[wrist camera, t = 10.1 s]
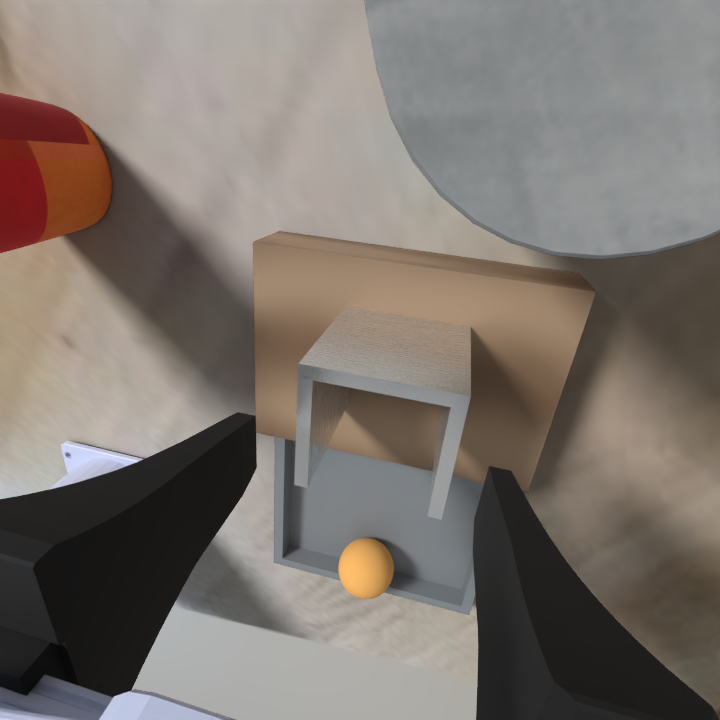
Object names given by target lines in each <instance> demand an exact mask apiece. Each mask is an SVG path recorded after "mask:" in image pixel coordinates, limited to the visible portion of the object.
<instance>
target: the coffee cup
mask: <svg viewBox="0 0 720 720" xmlns="http://www.w3.org/2000/svg"><path fill="white" fill-rule="evenodd" d="M111 197H112V175H111V170H110V166H109V163H108V160H107V157H106V155H105V152H104V150H103V148H102V146H101V144H100V143H99V141H98V139H97V138H96V136H95V135H94V134H93V132H92V131H91V130H90V129H89V127H88V126H87V125H86V124H85V123H84V122H83V121H82V120H80V119H79V118H78V117H77V116H75V115H74V114H72V113H71V112H69V111H67V110H65V109H63V108H60V107H58V106H55V105H51V104H47V103H43V102H39V101H35V100H31V99H26V98H21V97H17V96H12V95H7V94H3V93H0V253H3V252H7V251H10V250H14V249H17V248H21V247H24V246H28V245H31V244H35V243H38V242H42V241H45V240H49V239H52V238H56V237H59V236H62V235H66V234H69V233H72V232H75V231H79V230H81V229H84V228H87V227H89V226H91V225H93V224H95V223H97V222H98V221H99V220H100V219H101V218H102V217H103V216H104V215H105V213H106V211H107V210H108V207H109V205H110V202H111Z"/></svg>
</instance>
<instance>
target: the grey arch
mask: <svg viewBox="0 0 720 720" xmlns="http://www.w3.org/2000/svg"><path fill="white" fill-rule="evenodd" d="M349 387H350V388H355V389H360V390H365V391H370V392H375V393H380V394H385V395H391V396H396V397H401V398H406V399H411V400H416V401H421V402H426V403H432V404H437V405H442V408H441V413H440V418H439V423H438V430H437V439H436V447H435V455H434V464H433V472H432V481H431V489H430V497H429V506H428V514H427V516H428V517H432V518H436V519H441V520H442V516H443V512H444V507H445V503H446V499H447V495H448V491H449V486H450V482H451V478H452V474H453V469H454V465H455V461H456V457H457V453H458V448H459V444H460V440H461V436H462V431H463V427H464V423H465V419H466V415H467V410H468V406H469V402H470V398H471V326H465V325H459V324H453V323H446V322H440V321H434V320H428V319H422V318H416V317H410V316H404V315H398V314H392V313H386V312H380V311H374V310H368V309H362V308H356V307H349V306H345V307H344V309H343V310H342V311H341V312H340V314H339V315H338V316H337V317H336V318H335V320H334V321H333V322H332V323H331V324H330V326H329V327H328V328H327V329H326V331H325V332H324V333H323V334H322V335H321V337H320V338H319V339H318V340H317V342H316V343H315V344H314V345H313V346H312V348H311V349H310V350H309V351H308V352H307V354H306V355H305V356H304V357H303V359H302V360H301V361H300V362H299V363H298V390H297V419H296V448H295V477H294V485H297V486H301V487H305V488H307V487H308V485H309V483H310V481H311V479H312V477H313V475H314V473H315V471H316V469H317V467H318V465H319V463H320V461H321V459H322V457H323V455H324V453H325V451H326V449H327V446H328V444H329V442H330V440H331V438H332V436H333V434H334V432H335V430H336V428H337V426H338V424H339V422H340V420H341V418H342V416H343V414H344V412H345V410H346V408H347V406H348V397H349Z"/></svg>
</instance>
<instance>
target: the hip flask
mask: <svg viewBox="0 0 720 720" xmlns="http://www.w3.org/2000/svg"><path fill="white" fill-rule="evenodd" d="M364 4H365V9H366V15H367V20H368V26H369V31H370V37H371V42H372V48H373V54H374V59H375V65H376V69H377V73H378V76H379V80H380V83H381V87H382V90H383V93H384V97H385V100H386V104H387V107H388V110H389V114H390V117H391V120H392V122H393V124H394V126H395V127H396V129H397V131H398V133H399V135H400V137H401V139H402V141H403V143H404V145H405V147H406V149H407V151H408V153H409V155H410V157H411V159H412V161H413V162H414V163H415V165H416V166H417V167H418V168H419V170H420V171H421V172H422V174H423V175H424V176H425V177H426V179H427V180H428V181H429V182H430V184H431V185H432V186H433V188H434V189H435V190H436V191H437V193H438V194H439V195H440V196H441V197H442V198H443V199H445V200H446V201H447V202H448V203H449V204H451V205H452V206H453V207H454V208H455V209H457V210H458V211H459V212H460V213H461V214H463V215H464V216H465V217H466V218H467V219H469V220H470V221H471V222H472V223H474V224H475V225H477V226H479V227H481V228H483V229H485V230H487V231H489V232H491V233H493V234H494V235H496V236H498V237H500V238H502V239H504V240H506V241H508V242H510V243H512V244H516V245H519V246H523V247H526V248H530V249H533V250H537V251H540V252H544V253H547V254H551V255H556V256H568V257H580V258H592V259H607V258H617V257H628V256H638V255H649V254H653V253H657V252H661V251H664V250H668V249H672V248H676V247H679V246H683V245H687V244H691V243H694V242H698V241H702V240H705V239H707V238H709V237H712V236H714V235H716V234H718V233H720V0H364Z"/></svg>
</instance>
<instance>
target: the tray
mask: <svg viewBox="0 0 720 720" xmlns="http://www.w3.org/2000/svg"><path fill="white" fill-rule="evenodd" d="M295 448H296V441H293V440H288V439H284V438H279V437H275V480H274V563H277V564H281V565H285V566H288V567H292V568H296V569H299V570H303V571H307V572H311V573H314V574H318V575H322V576H325V577H329V578H333V579H337V580H340V577H339V570H338V568H339V560H340V557H341V554H342V552H343V551H344V549H345V548H346V547H347V546H348V545H349V544H350V543H351V542H353V541H355V540H357V539H361V538H371V539H375V540H377V541H379V542H381V543H382V544H383V545H384V546H385V547H386V548H387V549H388V551H389V552H390V554H391V557H392V560H393V565H394V573H393V578H392V581H391V583H390V585H389V586H388V588H387V589H386V590H385V591H384V592H385V593H389V594H392V595H396V596H400V597H404V598H407V599H411V600H415V601H418V602H422V603H426V604H430V605H433V606H437V607H441V608H444V609H448V610H452V611H456V612H459V613H463V614H467V615H469V614H470V611H471V608H472V605H473V601H474V598H475V595H476V594H475V580H474V565H473V533H474V518H475V514H476V511H477V507H478V504H479V500H480V496H481V493H482V489H483V486H484V483H483V482H479V481H474V480H470V479H465V478H461V477H456V476H452V478H451V482H450V486H449V491H448V495H447V499H446V503H445V507H444V512H443V516H442V520H441V519H436V518H432V517H428V516H427V514H428V506H429V497H430V489H431V481H432V472H433V471H429V470H424V469H420V468H415V467H411V466H406V465H402V464H397V463H393V462H388V461H384V460H379V459H374V458H370V457H365V456H361V455H356V454H352V453H347V452H343V451H338V450H334V449H329V448H327V449H326V451H325V453H324V455H323V457H322V459H321V461H320V463H319V465H318V467H317V469H316V471H315V473H314V475H313V477H312V479H311V481H310V483H309V485H308V487H307V488H305V487H301V486H297V485H294V477H295ZM340 581H341V580H340Z"/></svg>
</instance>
